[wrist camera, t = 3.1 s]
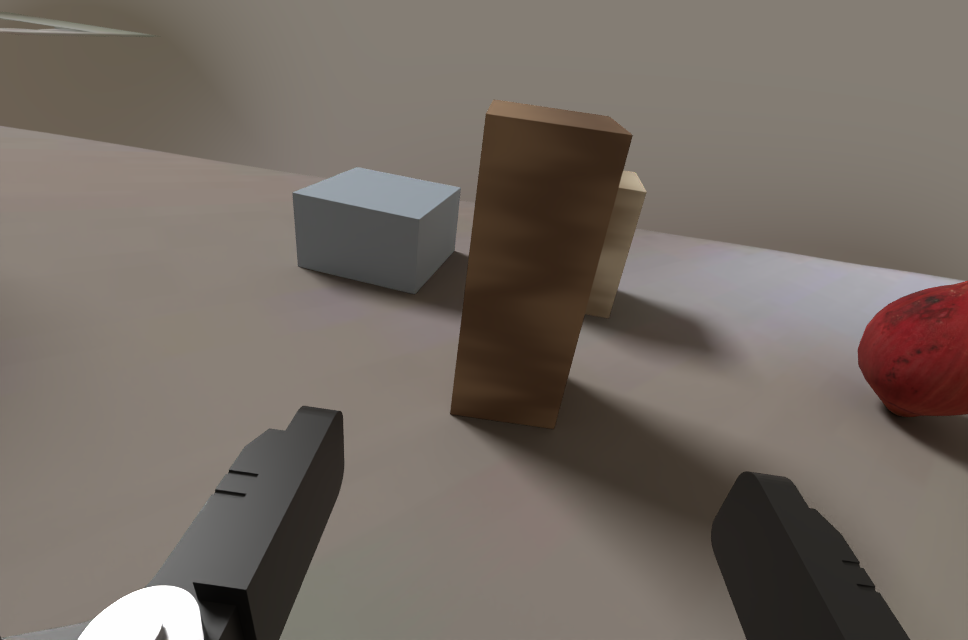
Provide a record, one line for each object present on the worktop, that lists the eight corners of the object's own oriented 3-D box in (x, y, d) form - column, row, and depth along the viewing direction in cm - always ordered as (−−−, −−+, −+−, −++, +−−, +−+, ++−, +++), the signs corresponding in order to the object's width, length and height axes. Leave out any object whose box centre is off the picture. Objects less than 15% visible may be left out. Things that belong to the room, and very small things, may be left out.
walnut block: (450, 414, 21) (485, 113, 15) (461, 355, 24) (493, 99, 18) (554, 429, 21) (632, 135, 15) (548, 368, 24) (609, 116, 18)
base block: (298, 269, 31) (292, 192, 28) (357, 231, 38) (357, 167, 35) (414, 297, 30) (419, 219, 27) (454, 253, 36) (460, 187, 34)
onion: (857, 434, 23) (961, 284, 19) (814, 368, 28) (890, 238, 24) (992, 467, 22) (1132, 317, 18) (924, 393, 27) (1021, 262, 23)
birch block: (529, 304, 30) (555, 176, 26) (534, 272, 35) (557, 159, 31) (608, 318, 30) (646, 192, 26) (603, 285, 34) (635, 172, 30)
